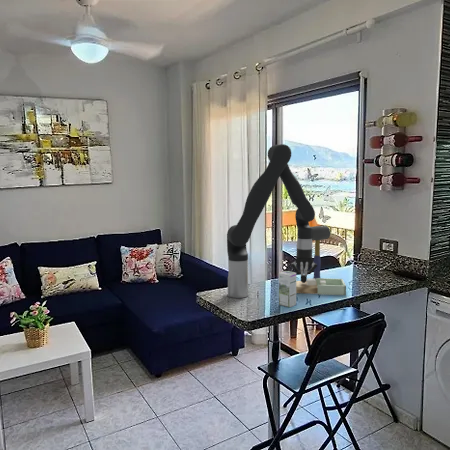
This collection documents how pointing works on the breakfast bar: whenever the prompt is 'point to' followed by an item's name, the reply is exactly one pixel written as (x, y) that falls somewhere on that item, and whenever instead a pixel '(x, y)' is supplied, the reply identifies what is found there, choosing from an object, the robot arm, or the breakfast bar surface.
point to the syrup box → (287, 288)
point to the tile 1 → (311, 281)
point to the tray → (331, 287)
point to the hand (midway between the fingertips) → (303, 282)
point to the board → (306, 288)
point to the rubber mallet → (318, 235)
